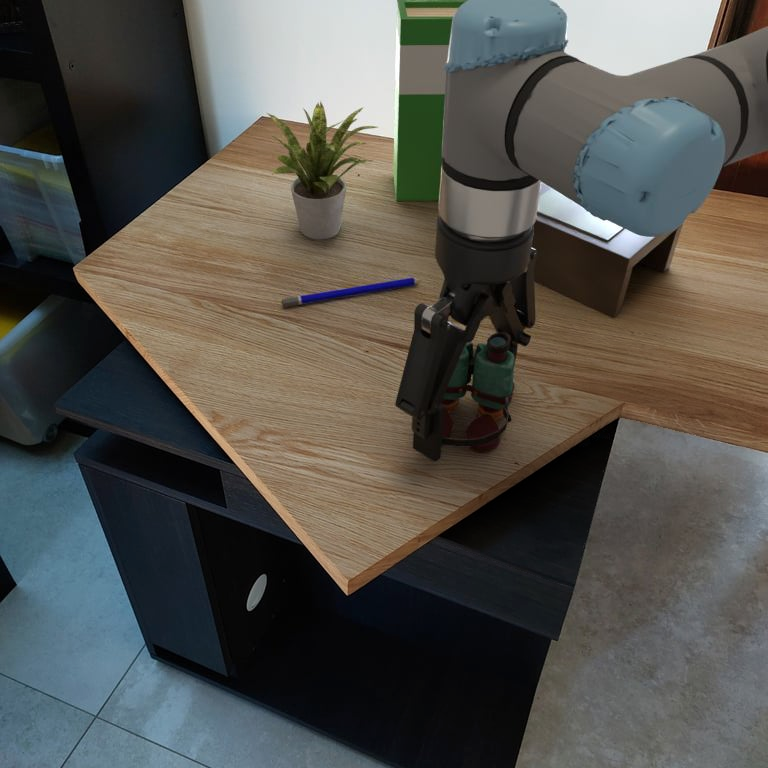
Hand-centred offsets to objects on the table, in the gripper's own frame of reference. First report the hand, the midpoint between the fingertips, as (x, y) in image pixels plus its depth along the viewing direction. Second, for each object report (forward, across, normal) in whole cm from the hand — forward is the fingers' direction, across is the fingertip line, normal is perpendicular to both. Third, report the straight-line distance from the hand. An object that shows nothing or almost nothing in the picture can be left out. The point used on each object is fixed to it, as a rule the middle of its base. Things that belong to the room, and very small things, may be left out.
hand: (462, 421), depth 75 cm
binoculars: (+2, 0, 0) cm, 2 cm away
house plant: (+2, -17, -35) cm, 39 cm away
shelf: (+1, -33, -9) cm, 34 cm away
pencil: (+1, -9, -23) cm, 25 cm away
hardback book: (+2, -38, -30) cm, 49 cm away
